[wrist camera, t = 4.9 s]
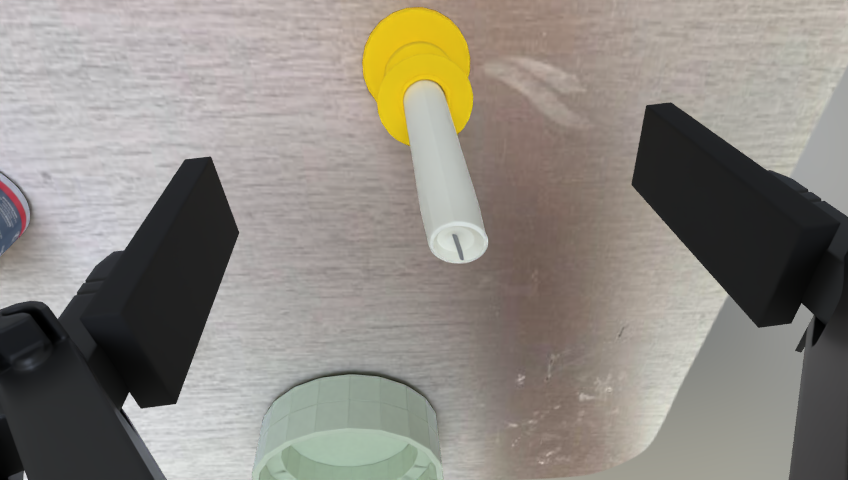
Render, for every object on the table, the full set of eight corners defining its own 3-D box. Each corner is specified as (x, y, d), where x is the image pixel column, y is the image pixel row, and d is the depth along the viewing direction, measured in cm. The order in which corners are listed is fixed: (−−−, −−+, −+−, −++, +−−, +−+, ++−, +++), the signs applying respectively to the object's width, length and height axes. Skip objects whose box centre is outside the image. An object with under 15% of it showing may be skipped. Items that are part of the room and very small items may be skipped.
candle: (427, 133, 26) (476, 361, 14) (342, 78, 24) (309, 286, 12) (490, 50, 24) (618, 231, 12) (402, -19, 22) (441, 109, 9)
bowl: (429, 358, 37) (436, 417, 33) (441, 461, 45) (448, 518, 41) (241, 381, 37) (225, 443, 33) (287, 480, 45) (279, 539, 41)
